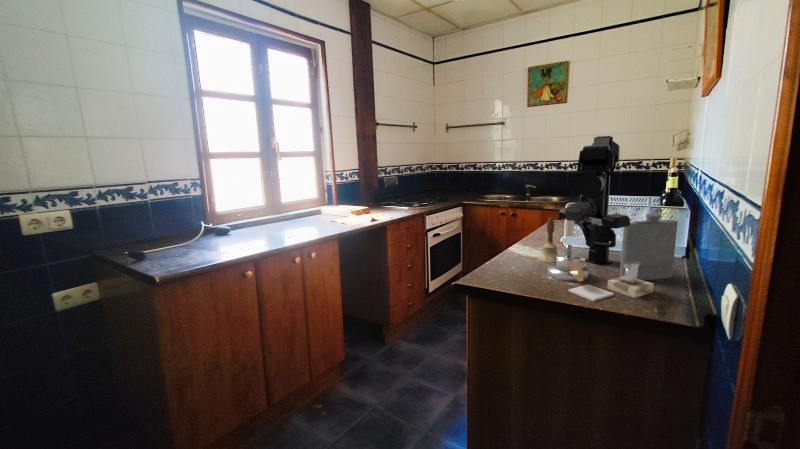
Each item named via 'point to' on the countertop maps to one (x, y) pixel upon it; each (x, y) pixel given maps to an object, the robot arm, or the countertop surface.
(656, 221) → the hip flask
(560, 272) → the base
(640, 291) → the socket
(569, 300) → the countertop surface
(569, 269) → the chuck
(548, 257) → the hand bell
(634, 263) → the shiny silver metal piece
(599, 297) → the white square plate
